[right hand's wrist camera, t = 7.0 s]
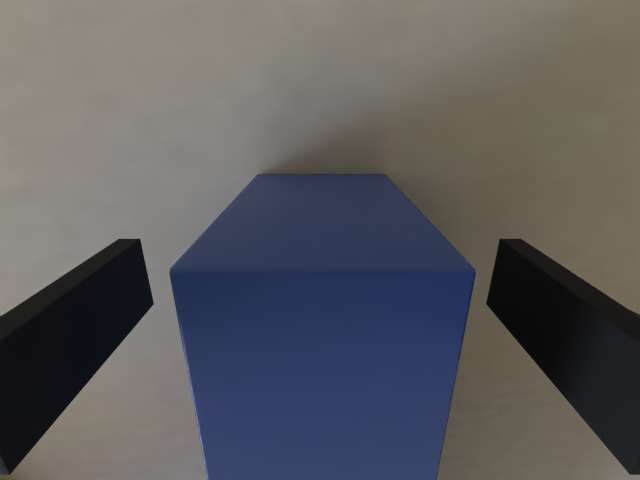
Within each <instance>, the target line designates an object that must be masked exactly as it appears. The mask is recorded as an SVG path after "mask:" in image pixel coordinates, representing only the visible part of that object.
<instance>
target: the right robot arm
mask: <svg viewBox="0 0 640 480" xmlns="http://www.w3.org/2000/svg"><path fill="white" fill-rule="evenodd" d="M153 304H154V303H153V298H152V293H151V289H150V284H149V279H148V274H147V270H146V265H145V260H144V255H143V251H142V246H141V241H140V239H118V240H117V241H115V242H114V243H112V244H111V245H109V246H108V247H106V248H104V249H103V250H101V251H100V252H98V253H97V254H95V255H94V256H92V257H91V258H89V259H88V260H86V261H85V262H83V263H82V264H80V265H79V266H77V267H76V268H74V269H73V270H71V271H69V272H68V273H66V274H65V275H63V276H62V277H60V278H59V279H57V280H56V281H54V282H53V283H51V284H50V285H48V286H47V287H45V288H44V289H42V290H41V291H39V292H38V293H36V294H35V295H33V296H31V297H30V298H28V299H27V300H25V301H24V302H22V303H21V304H19V305H18V306H16V307H15V308H13V309H12V310H10V311H9V312H7V313H6V314H4V315H2V316H0V475H10V474H11V473H12V471H13V470H14V469H15V468H16V467H17V466H18V464H19V463H20V462H21V461H22V460H23V458H24V457H25V456H26V455H27V454H28V453H29V451H30V450H31V449H32V448H33V447H34V445H35V444H36V443H37V442H38V441H39V439H40V438H41V437H42V436H43V435H44V434H45V432H46V431H47V430H48V429H49V428H50V426H51V425H52V424H53V423H54V422H55V420H56V419H57V418H58V417H59V416H60V415H61V413H62V412H63V411H64V410H65V409H66V407H67V406H68V405H69V404H70V403H71V402H72V400H73V399H74V398H75V397H76V396H77V394H78V393H79V392H80V391H81V390H82V388H83V387H84V386H85V385H86V384H87V383H88V381H89V380H90V379H91V378H92V377H93V375H94V374H95V373H96V372H97V371H98V369H99V368H100V367H101V366H102V365H103V364H104V362H105V361H106V360H107V359H108V358H109V356H110V355H111V354H112V353H113V352H114V351H115V349H116V348H117V347H118V346H119V345H120V343H121V342H122V341H123V340H124V339H125V337H126V336H127V335H128V334H129V333H130V332H131V330H132V329H133V328H134V327H135V326H136V324H137V323H138V322H139V321H140V320H141V318H142V317H143V316H144V315H145V314H146V313H147V311H148V310H149V309H150V308H151V307H152V305H153ZM486 304H487V305H488V307H489V308H490V309H491V310H492V311H493V313H494V314H495V315H496V316H497V317H498V318H499V320H500V321H501V322H502V323H503V324H504V326H505V327H506V328H507V329H508V330H509V332H510V333H511V334H512V335H513V336H514V337H515V339H516V340H517V341H518V342H519V343H520V345H521V346H522V347H523V348H524V349H525V351H526V352H527V353H528V354H529V355H530V356H531V358H532V359H533V360H534V361H535V362H536V364H537V365H538V366H539V367H540V368H541V369H542V371H543V372H544V373H545V374H546V375H547V377H548V378H549V379H550V380H551V381H552V383H553V384H554V385H555V386H556V387H557V388H558V390H559V391H560V392H561V393H562V394H563V396H564V397H565V398H566V399H567V400H568V402H569V403H570V404H571V405H572V406H573V407H574V409H575V410H576V411H577V412H578V413H579V415H580V416H581V417H582V418H583V419H584V420H585V422H586V423H587V424H588V425H589V426H590V428H591V429H592V430H593V431H594V432H595V434H596V435H597V436H598V437H599V438H600V439H601V441H602V442H603V443H604V444H605V445H606V447H607V448H608V449H609V450H610V451H611V453H612V454H613V455H614V456H615V457H616V458H617V460H618V461H619V462H620V463H621V464H622V466H623V467H624V468H625V469H626V470H627V471H628V473H629V474H630V475H640V315H639V314H637V313H635V312H633V311H630V310H628V309H627V308H625V307H624V306H622V305H621V304H619V303H618V302H616V301H615V300H613V299H612V298H610V297H609V296H607V295H605V294H604V293H602V292H601V291H599V290H598V289H596V288H595V287H593V286H592V285H590V284H589V283H587V282H586V281H584V280H583V279H581V278H580V277H578V276H577V275H575V274H574V273H572V272H571V271H569V270H567V269H566V268H564V267H563V266H561V265H560V264H558V263H557V262H555V261H554V260H552V259H551V258H549V257H548V256H546V255H545V254H543V253H542V252H540V251H539V250H537V249H536V248H534V247H532V246H531V245H529V244H528V243H526V242H525V241H523V240H522V239H500V241H499V246H498V251H497V255H496V260H495V265H494V270H493V274H492V279H491V284H490V289H489V293H488V298H487V303H486Z"/></svg>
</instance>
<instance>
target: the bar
mask: <svg viewBox="0 0 640 480" xmlns="http://www.w3.org/2000/svg"><path fill="white" fill-rule="evenodd" d="M475 274H476V272H475V269H474V268H473V267H472V266H471V264H470V263H469V262H468V261H467V260H466V259H465V258H464V257H463V256H462V255H461V254H460V253H459V252H458V251H457V250H456V249H455V248H454V246H453V245H452V244H451V243H450V242H449V241H448V240H447V239H446V238H445V237H444V236H443V235H442V234H441V233H440V232H439V231H438V230H437V228H436V227H435V226H434V225H433V224H432V223H431V222H430V221H429V220H428V219H427V218H426V217H425V216H424V215H423V214H422V213H421V212H420V210H419V209H418V208H417V207H416V206H415V205H414V204H413V203H412V202H411V201H410V200H409V199H408V198H407V197H406V196H405V195H404V194H403V192H402V191H401V190H400V189H399V188H398V187H397V186H396V185H395V184H394V183H393V182H392V181H391V180H390V179H389V178H388V177H387V176H386V175H385V174H258V175H257V176H256V177H255V178H254V179H253V180H252V181H251V182H250V183H249V184H248V185H247V186H246V188H245V189H244V190H243V191H242V192H241V193H240V194H239V195H238V196H237V197H236V198H235V199H234V200H233V202H232V203H231V204H230V205H229V206H228V207H227V208H226V209H225V210H224V211H223V212H222V213H221V215H220V216H219V217H218V218H217V219H216V220H215V221H214V222H213V223H212V224H211V225H210V226H209V227H208V229H207V230H206V231H205V232H204V233H203V234H202V235H201V236H200V237H199V238H198V239H197V240H196V241H195V243H194V244H193V245H192V246H191V247H190V248H189V249H188V250H187V251H186V252H185V253H184V254H183V256H182V257H181V258H180V259H179V260H178V261H177V262H176V263H175V264H174V265H173V266H172V267H171V268H170V278H171V284H172V289H173V295H174V300H175V306H176V311H177V316H178V322H179V327H180V333H181V338H182V344H183V349H184V354H185V360H186V365H187V371H188V376H189V382H190V387H191V392H192V398H193V403H194V409H195V414H196V420H197V425H198V430H199V436H200V441H201V447H202V452H203V458H204V463H205V468H206V474H207V479H208V480H436V479H437V473H438V468H439V463H440V458H441V452H442V447H443V442H444V437H445V431H446V426H447V421H448V416H449V410H450V405H451V400H452V395H453V389H454V384H455V379H456V374H457V368H458V363H459V358H460V353H461V347H462V342H463V337H464V332H465V326H466V321H467V316H468V311H469V305H470V300H471V295H472V290H473V284H474V279H475Z"/></svg>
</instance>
